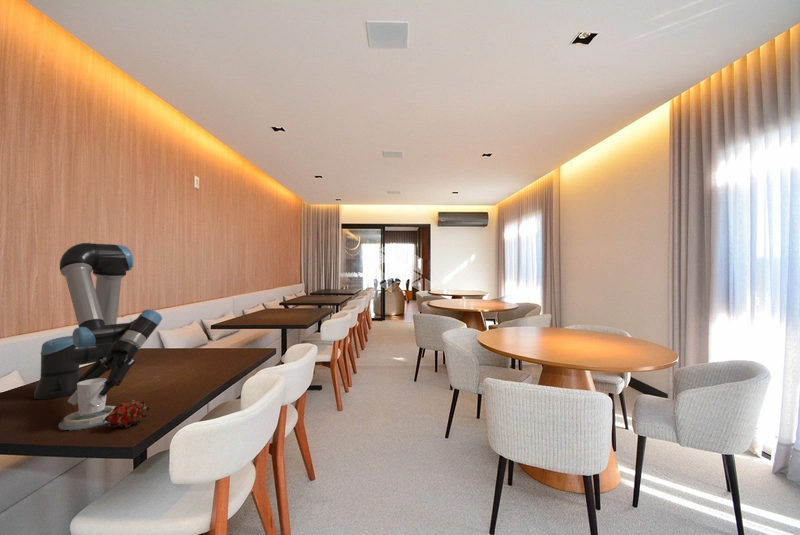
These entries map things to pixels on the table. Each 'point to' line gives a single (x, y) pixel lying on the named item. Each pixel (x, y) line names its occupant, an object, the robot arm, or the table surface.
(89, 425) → the ring plate
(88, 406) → the white cup
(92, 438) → the table surface
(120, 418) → the dragon fruit
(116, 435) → the table surface
